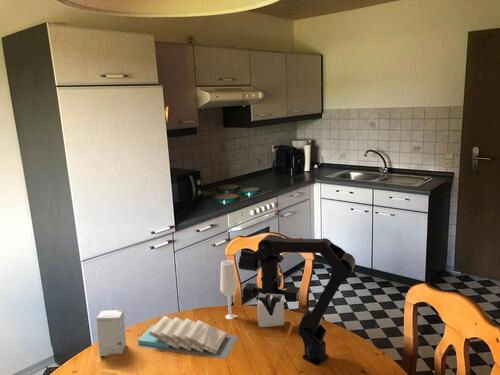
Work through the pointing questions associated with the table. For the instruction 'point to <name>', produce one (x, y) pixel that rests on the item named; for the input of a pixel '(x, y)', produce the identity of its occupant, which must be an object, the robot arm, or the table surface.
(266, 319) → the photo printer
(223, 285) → the champagne flute
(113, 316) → the skincare box
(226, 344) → the domino board
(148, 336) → the domino
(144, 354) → the table surface
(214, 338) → the domino
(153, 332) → the domino
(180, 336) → the domino
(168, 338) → the domino
